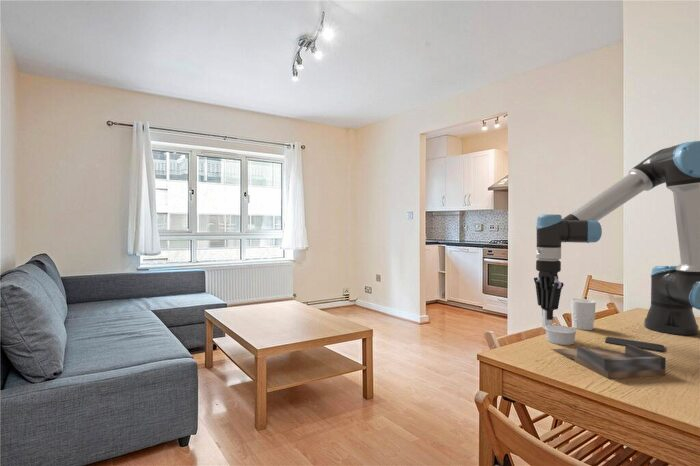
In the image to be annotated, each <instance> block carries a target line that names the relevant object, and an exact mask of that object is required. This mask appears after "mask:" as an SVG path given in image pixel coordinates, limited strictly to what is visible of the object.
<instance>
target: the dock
mask: <svg viewBox="0 0 700 466" xmlns="http://www.w3.org/2000/svg"><path fill="white" fill-rule="evenodd" d="M596 347H597V348H589V347H584V346H581V345H579V346H578V345H577V346H576V348H577V349H567V348H551V349H550V350H551V351H553V352H555V353H557V354H560V355H561V356H563V357H564V358H567V359H568V358H569V359H571V360H573V361H574V362H575V363H577V364H579V365H581V366H582V367H584V368H586V369H589V370H590V371H592V372H595V373H597V374H599V375H600V376H602V377H604V378H606V379H620V378H621V379H622V378H623V379H624V378H639V377H658V376H661V377H662V376H666V359H667V358H666V357H665V356H663V355H659V354H657V353H654V352H653V351H650V350H644V349H641V348H638V347H636V346H633V345H630V344H625V346H624V352H621V351H617V350H613V349H612V350H611V349H608V348H604V347H599V346H596Z"/></svg>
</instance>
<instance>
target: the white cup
mask: <svg viewBox="0 0 700 466" xmlns="http://www.w3.org/2000/svg"><path fill="white" fill-rule="evenodd" d="M596 305H597V302H596V300H592V299H586V298H571V299H570V314H571V328H573V329H575V330H576V329H577V330H582V331H592V329H593V330H594V323H595V318H596Z"/></svg>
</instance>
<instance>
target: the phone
mask: <svg viewBox="0 0 700 466" xmlns="http://www.w3.org/2000/svg"><path fill="white" fill-rule="evenodd" d="M604 343H605V344H609V345H615V346H621V347H625V344H630V345H633V346H636V347H638V348H641V349H644V350H646V351H649V352H656V353H665V351H666V350H665V345H663V344H659V343H652V342H646V341H638V340H632V339H624V338H619V337H612V336H611V337H610V336H607V337H606V338H605V340H604Z"/></svg>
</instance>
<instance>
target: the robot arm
mask: <svg viewBox="0 0 700 466" xmlns="http://www.w3.org/2000/svg"><path fill="white" fill-rule="evenodd" d="M662 184H665V185H666V186H665V187H666V188H667V189H668V190H669V191H671V193H673V194H672V195H673V204H674V213H675V214H674V215H675V221H676V222H675V223H676V231H677V239H678V248H679V249H678V250H679V256H680V263H679V265H655V266H654V267H652V269H651V273H650V278H651V280H650V282H651V283H650V284H651V285H650V307H649V309H648V311H647V315H646V317H645V318H644V323H643V324H644V327H645V328H647V329H648V330H649V329H650V330H653V331H656V332H660V333H666V334H671V335H672V334H673V335H683V336H693V335H698V334H699V325H698V324H697V321H696V317H695V313H694V312H693V309H696V310H699V311H700V140H693V141H687V142H683V143H680V144H676V145H674V146H670V147H669V146H668V147H665V148H661V149H660V150H657V151H656V152H654V153H652V154H651V155H649V156H647V157H646V158H645V159H643V160H642V161H641V162H639V163H638V164H637V165H635V166H633V167H632V168H630V169H629V171H628V173H627V175H626V176H624V177H623V178H621V179H620V180H618V181H617V182H615V183H613V184H612V185H611V186H609V187H608V188H607V189H604V190H603V191H602V192H600V193H598V194H597V195H596V196H595V197H593V198H591V199H590V200H588V201H587V202H585V203H584V204H582V205H581V206H580V207H578V208H577V209H575V210H574V211H572V212H571V213H569V214H568V215H566V216H564V217H562V215H561V214H552V213H551V214H539V215H538V216H537V218H536V226H535V227H536V253H535V254H536V261H535V263H536V264H535V270H536V271H538V276H537V277H534V278H533V281H534V283H535V292H536V300H537V305H538V306H539V307H540V308H541V317H542V320H541V323H542V325H541V326H542V329H543V330H545V327H546V326H548V325H553V319H554V311H556V310H558V309H559V305H560V299H561V293H562V289H563V287H564V285H565V284H564V282H561V281H559V274H558V273H560V272H561V271H562V270H561V269H562V261H560V260H561V259H562V243H581V244H582V243H583V244H584V243H585V244H586V243H587V244H589V243H597V242H599V241H600V240H601V238H602V234H603V230H602V229H603V228H602V225H601V223H600V220H602V219H603V218H605V217H606V216H608V215H609V214H611V213H612V212H613V211H615V210H616V209H618V208H620V207H621V206H623V205H624V204H626V203H628V201H631V199H634V197H637V195H639V194H641V193H642V192H643V191H646V192H648V191H650V190H652V189H654V188H655V187H658V186H659V185H662Z"/></svg>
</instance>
